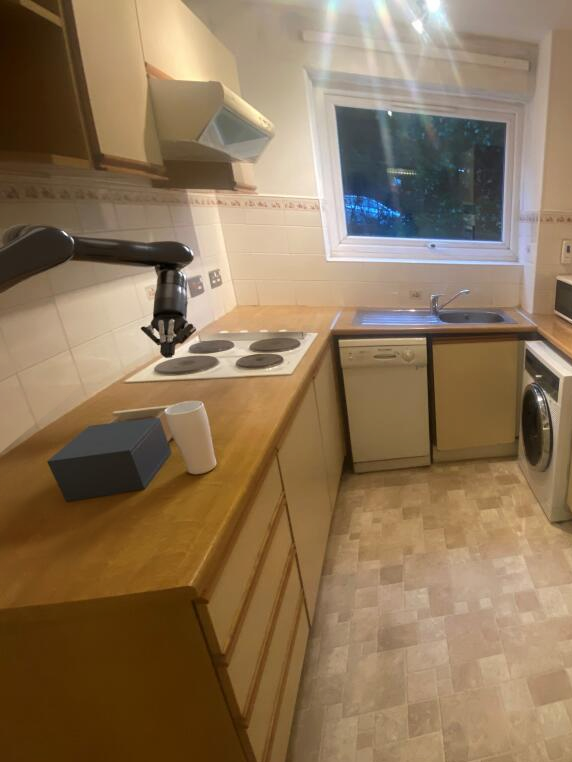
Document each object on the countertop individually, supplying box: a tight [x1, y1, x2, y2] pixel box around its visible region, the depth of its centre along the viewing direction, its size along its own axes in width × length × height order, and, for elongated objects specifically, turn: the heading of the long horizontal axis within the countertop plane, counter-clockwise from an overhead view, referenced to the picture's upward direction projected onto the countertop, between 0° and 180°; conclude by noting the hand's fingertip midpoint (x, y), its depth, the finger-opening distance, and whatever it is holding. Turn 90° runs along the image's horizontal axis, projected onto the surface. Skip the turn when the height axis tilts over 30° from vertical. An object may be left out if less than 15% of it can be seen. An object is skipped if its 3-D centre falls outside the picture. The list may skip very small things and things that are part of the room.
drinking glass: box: [164, 400, 218, 475], centre depth 92 cm, size 7×7×15 cm
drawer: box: [105, 404, 173, 443], centre depth 101 cm, size 18×12×7 cm, turn 19°
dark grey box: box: [46, 418, 172, 503], centre depth 91 cm, size 15×13×9 cm
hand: (167, 356), depth 119 cm, fingers closed
